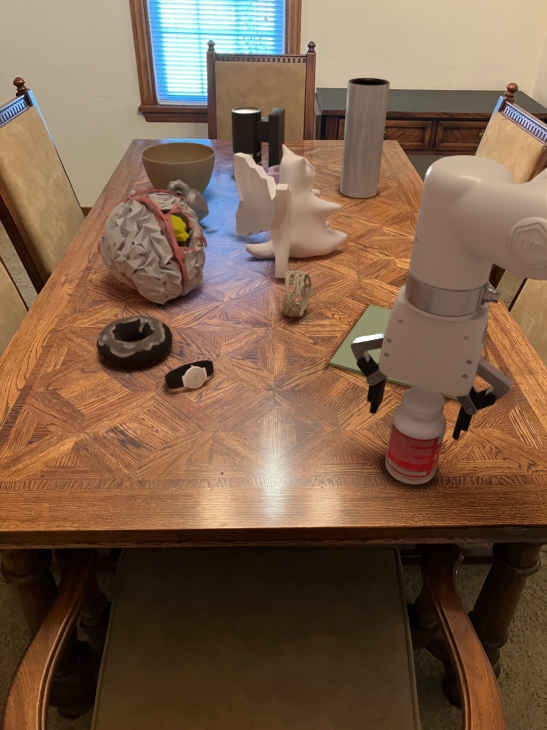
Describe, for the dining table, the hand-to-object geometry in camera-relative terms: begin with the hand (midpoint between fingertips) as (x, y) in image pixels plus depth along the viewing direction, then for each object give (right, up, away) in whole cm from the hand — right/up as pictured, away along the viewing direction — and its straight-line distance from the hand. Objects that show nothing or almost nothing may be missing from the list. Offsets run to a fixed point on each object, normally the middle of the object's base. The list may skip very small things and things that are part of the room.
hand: (415, 419), depth 67 cm
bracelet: (-13, +15, +35) cm, 40 cm away
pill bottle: (0, -7, +4) cm, 8 cm away
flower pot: (-40, +49, +82) cm, 103 cm away
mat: (+5, +9, +26) cm, 28 cm away
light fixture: (-21, +60, +97) cm, 116 cm away
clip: (-15, +47, +79) cm, 93 cm away
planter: (+6, +53, +87) cm, 102 cm away
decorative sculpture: (-39, +21, +43) cm, 62 cm away
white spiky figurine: (-12, +30, +55) cm, 64 cm away
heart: (-36, +38, +66) cm, 85 cm away
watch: (-29, +4, +19) cm, 35 cm away
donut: (-38, +8, +25) cm, 47 cm away
